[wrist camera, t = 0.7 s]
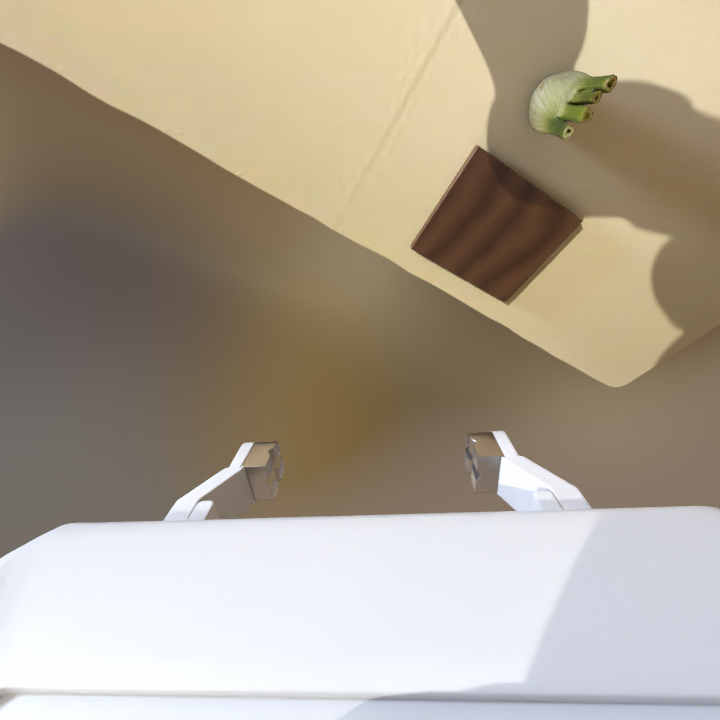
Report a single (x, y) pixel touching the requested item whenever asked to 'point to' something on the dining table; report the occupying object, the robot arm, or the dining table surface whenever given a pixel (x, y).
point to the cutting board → (493, 226)
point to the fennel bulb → (566, 101)
